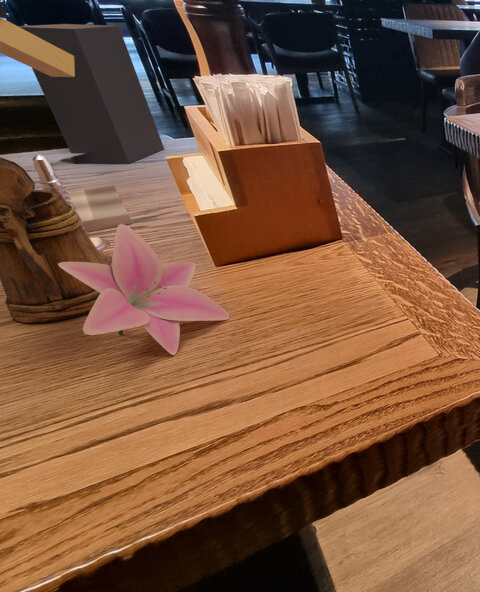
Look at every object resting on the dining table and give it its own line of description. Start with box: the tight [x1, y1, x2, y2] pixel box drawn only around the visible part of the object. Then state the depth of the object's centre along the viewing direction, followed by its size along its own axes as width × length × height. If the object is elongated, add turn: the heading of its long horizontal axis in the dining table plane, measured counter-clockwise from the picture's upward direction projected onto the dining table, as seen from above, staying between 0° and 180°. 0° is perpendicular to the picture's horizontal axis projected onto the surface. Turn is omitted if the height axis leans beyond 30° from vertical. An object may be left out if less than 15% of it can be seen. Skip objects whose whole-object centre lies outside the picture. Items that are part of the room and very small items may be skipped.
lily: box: [58, 224, 230, 356], centre depth 48 cm, size 12×12×10 cm
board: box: [66, 185, 133, 233], centre depth 75 cm, size 16×8×2 cm, turn 44°
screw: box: [32, 154, 111, 261], centre depth 59 cm, size 13×5×5 cm
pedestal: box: [17, 23, 165, 165], centre depth 96 cm, size 11×9×22 cm
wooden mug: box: [0, 157, 109, 324], centre depth 49 cm, size 9×14×18 cm, turn 35°
